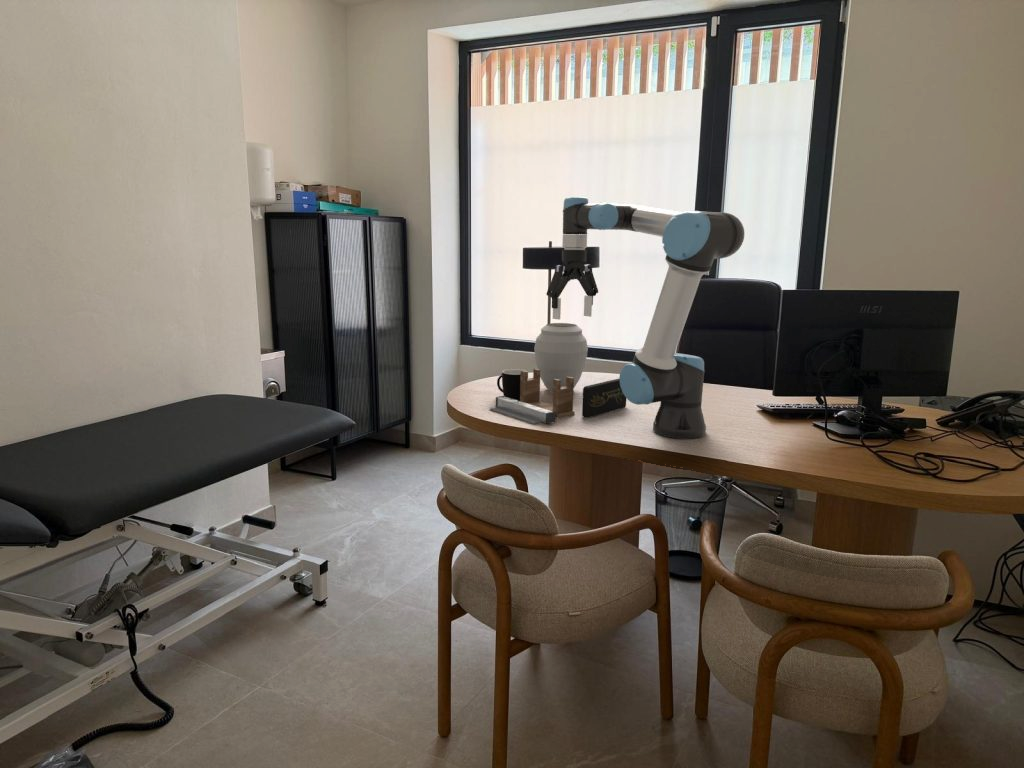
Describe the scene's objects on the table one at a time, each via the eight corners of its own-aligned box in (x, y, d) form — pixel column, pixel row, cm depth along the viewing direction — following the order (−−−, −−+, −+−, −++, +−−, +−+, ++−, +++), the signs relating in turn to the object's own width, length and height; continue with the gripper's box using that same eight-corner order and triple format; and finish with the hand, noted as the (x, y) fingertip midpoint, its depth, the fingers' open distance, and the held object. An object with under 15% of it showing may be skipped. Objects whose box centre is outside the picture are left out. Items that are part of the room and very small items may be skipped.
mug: (532, 400, 240) (533, 371, 238) (517, 405, 233) (517, 375, 231) (505, 394, 247) (505, 367, 245) (489, 399, 240) (489, 370, 238)
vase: (554, 382, 268) (556, 320, 262) (596, 390, 255) (599, 325, 250) (522, 391, 253) (523, 324, 248) (565, 399, 241) (567, 330, 236)
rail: (555, 422, 211) (555, 411, 210) (547, 423, 209) (547, 413, 208) (503, 405, 230) (503, 395, 229) (495, 406, 228) (495, 397, 227)
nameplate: (621, 406, 233) (622, 377, 231) (625, 407, 232) (627, 378, 230) (581, 417, 219) (583, 386, 216) (586, 418, 217) (587, 387, 215)
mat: (556, 420, 215) (556, 418, 215) (534, 424, 209) (534, 422, 209) (511, 406, 231) (511, 404, 231) (490, 410, 226) (490, 408, 226)
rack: (574, 415, 221) (575, 378, 218) (559, 418, 217) (560, 380, 214) (533, 402, 236) (534, 368, 233) (518, 405, 232) (519, 370, 229)
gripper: (593, 248, 224) (591, 313, 229) (535, 248, 209) (534, 319, 213) (611, 249, 219) (608, 316, 223) (552, 249, 203) (551, 321, 208)
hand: (572, 317), depth 218 cm, fingers open, 13 cm apart
